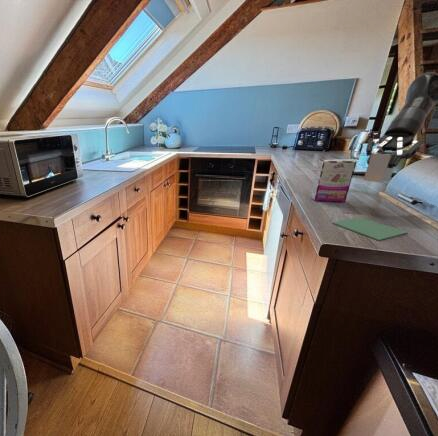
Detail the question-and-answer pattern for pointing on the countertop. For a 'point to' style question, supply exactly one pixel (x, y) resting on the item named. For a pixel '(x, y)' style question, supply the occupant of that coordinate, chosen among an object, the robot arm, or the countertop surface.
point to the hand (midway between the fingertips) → (379, 165)
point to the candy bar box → (333, 180)
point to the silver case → (379, 167)
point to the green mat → (370, 228)
